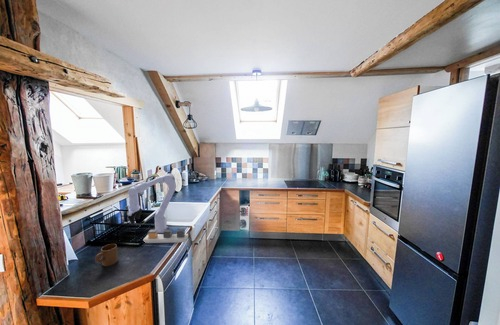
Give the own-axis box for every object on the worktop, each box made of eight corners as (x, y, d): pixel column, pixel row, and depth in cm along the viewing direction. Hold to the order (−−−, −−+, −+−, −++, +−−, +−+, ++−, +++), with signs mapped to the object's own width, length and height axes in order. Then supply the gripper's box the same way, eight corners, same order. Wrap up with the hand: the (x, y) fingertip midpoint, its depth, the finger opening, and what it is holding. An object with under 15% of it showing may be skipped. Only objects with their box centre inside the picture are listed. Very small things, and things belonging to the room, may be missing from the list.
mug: (102, 273, 107) (100, 256, 105) (90, 270, 108) (89, 254, 107) (121, 259, 118) (120, 244, 117) (110, 257, 120) (109, 242, 119)
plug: (150, 238, 142) (150, 229, 141) (157, 238, 142) (157, 229, 141) (148, 241, 138) (148, 232, 137) (155, 241, 139) (155, 231, 138)
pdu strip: (147, 237, 143) (147, 228, 142) (188, 237, 145) (187, 227, 144) (143, 243, 136) (142, 233, 135) (185, 242, 138) (185, 232, 137)
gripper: (133, 200, 152) (134, 217, 154) (122, 207, 138) (124, 225, 140) (143, 200, 153) (144, 217, 155) (133, 207, 139) (134, 225, 141)
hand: (135, 221), depth 148 cm, fingers open, 7 cm apart
